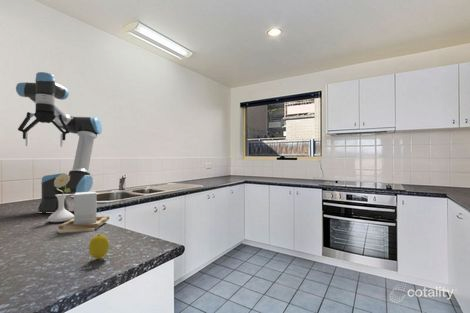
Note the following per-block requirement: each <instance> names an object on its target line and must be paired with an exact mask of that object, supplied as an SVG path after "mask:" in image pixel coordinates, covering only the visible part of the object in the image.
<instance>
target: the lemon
mask: <svg viewBox="0 0 470 313" xmlns="http://www.w3.org/2000/svg"><path fill="white" fill-rule="evenodd" d="M88 245H89V246H88V251H89V252H88V253H89V254H90V256H91V257H92V258H94V259H97V260H101V259H102V258H103V257H105V255H106V254H107V253H108V251H109V248H110V241H109V239H108V238H107V237H106V235H104V234H101V233H98V234H97V235H95V236H94V237H92V239H91V240H90V241H89V244H88Z"/></svg>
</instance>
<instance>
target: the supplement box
mask: <svg viewBox="0 0 470 313" xmlns="http://www.w3.org/2000/svg"><path fill="white" fill-rule="evenodd" d="M73 215H74V224H87V223H96V217H97V192H96V191H89V192H80V193H75V194H73Z"/></svg>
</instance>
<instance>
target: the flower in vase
mask: <svg viewBox="0 0 470 313" xmlns="http://www.w3.org/2000/svg"><path fill="white" fill-rule="evenodd" d="M60 174H61V175H59V176H58V177H56V179H55V180H54V186H56V187H58V188H59V187H62V186H65V185H66V184H67V183H68V181H70V176H69V174H67V173H66V172H65V173H64V174H62V173H60ZM58 188H57V190H59V189H58ZM59 191H61V192H63V191H62V190H59ZM64 191H65V192H66V193H68V192H71V191H70V189H69V188H67V189H66V186H65V190H64ZM63 193H64V192H63ZM63 193H62V194H58V195H55V196H56V197H57V198H58V202H59V207H58V210H57V211H56V212H54V213H51V214H50V216H48V218H47V221H48V222H51V223H62V222H67V221H69V220H71V219H73V218H74V213H72V212H70V211H69V210H66V209H65V208H64V199H66V197H67V195H68V194H63Z"/></svg>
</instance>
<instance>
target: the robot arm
mask: <svg viewBox="0 0 470 313" xmlns="http://www.w3.org/2000/svg"><path fill="white" fill-rule="evenodd" d="M34 81H35V82H18V83H16V86H15V91H16V93H17V95H18V96H19V97H21V98H22V97H23V98H28V99H30V100H31V102H33V103H34V105H35V110H34V111H35V112H34V113H32V112H29V111H28V112H26V116H25V118H24V119H23V121H22V122H21V123H20V124H19V126H18V128H17V131H18V132H22V139H23V140H25V146H26V147H29V146H30V133H29V131H30V130H31V129H33V128H34V127H35V126H37V124H39V123H41V124H42V123H43V124H45V123H46V124H50V123H52V125H54V126H55V127H56V128H57V130H59V131H60V141H59V142H60V144H59V146H60V148H63V147H64V141H66V135H67V134H70V133H71V134H76V135H77V136H78V142H77V147H76V152H75V156H74V161H73V165H72V168H71V170H69V171H68V175H69V176H70V181H68V183H67V184H66V185H65V186H66V189H67V188H69V189H70V191H71V192H68V193H66V192H65V191H64V190H65V186H62V187H59V188H58V187H56V186H54V180H55V179H56V177H58V176H59V175H61V174H64V173H54V174H48V175H43V176H42V178H41V182H40V184H41V201H40V202H39V206H38V208H37V213H38V212H42V213H46V212H56V211H57V210H58V207H59V202H58V198H57V197H56V196H55V195H58V194H62V193H63V192H64V193H63V194H67V195H74V194H75V193H80V192H91V189H92V187H93V183H94V181H93V180H94V178H93V176H92V175H91V173H90V172H89V169H90V164H91V163H90V162H91V156H92V151H93V145H94V142H95V141H94V140H95V139H97V138H98V135H101V134H102V129H103V128H102V124H101V121H100V119H99V118H98V117H94V116H93V117H92V116H73V115H70V114H68V113H66V112H64V110H63V109H61V107H60V106H58V104H56V101H55V100H56V99H57V100H62V101H63V100H67V99H68V97H69V95H70V92H69V90H68V88H67V87H65V86H64V85H62V84H59V83H58V82H56V78H55V75H54V74H52V73H50V72H46V71H44V72H43V71H39V72H37V73H36V74H35V80H34ZM33 117H35V119H34V120H33V121H32V122H31V123H30V124H29V125H27V124H28V123H29V121H30V120H31V118H33ZM57 188H58V189H59V190H62V191H63V192H61V191H59V190H57ZM64 208H65V209H66V210H67V209H68V210H69V205H68V202H67V200H66V198H65V199H64ZM68 210H67V211H68Z"/></svg>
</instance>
